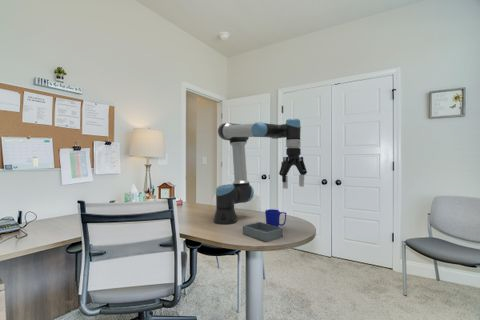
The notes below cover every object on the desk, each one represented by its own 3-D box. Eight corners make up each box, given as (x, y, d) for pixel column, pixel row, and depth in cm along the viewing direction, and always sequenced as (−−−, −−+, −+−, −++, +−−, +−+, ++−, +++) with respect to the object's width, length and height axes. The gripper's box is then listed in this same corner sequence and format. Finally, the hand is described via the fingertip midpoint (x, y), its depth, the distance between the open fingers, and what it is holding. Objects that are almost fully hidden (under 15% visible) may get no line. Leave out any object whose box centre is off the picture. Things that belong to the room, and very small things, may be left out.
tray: (242, 234, 132) (242, 225, 132) (259, 229, 139) (259, 221, 139) (265, 242, 118) (265, 233, 118) (283, 236, 126) (283, 228, 126)
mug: (286, 230, 137) (286, 212, 137) (264, 229, 139) (264, 212, 139) (286, 226, 145) (286, 209, 145) (266, 225, 147) (265, 209, 147)
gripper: (283, 147, 121) (283, 190, 121) (313, 148, 137) (313, 186, 137) (272, 147, 127) (272, 188, 127) (302, 148, 143) (302, 185, 143)
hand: (293, 187), depth 132 cm, fingers open, 13 cm apart
